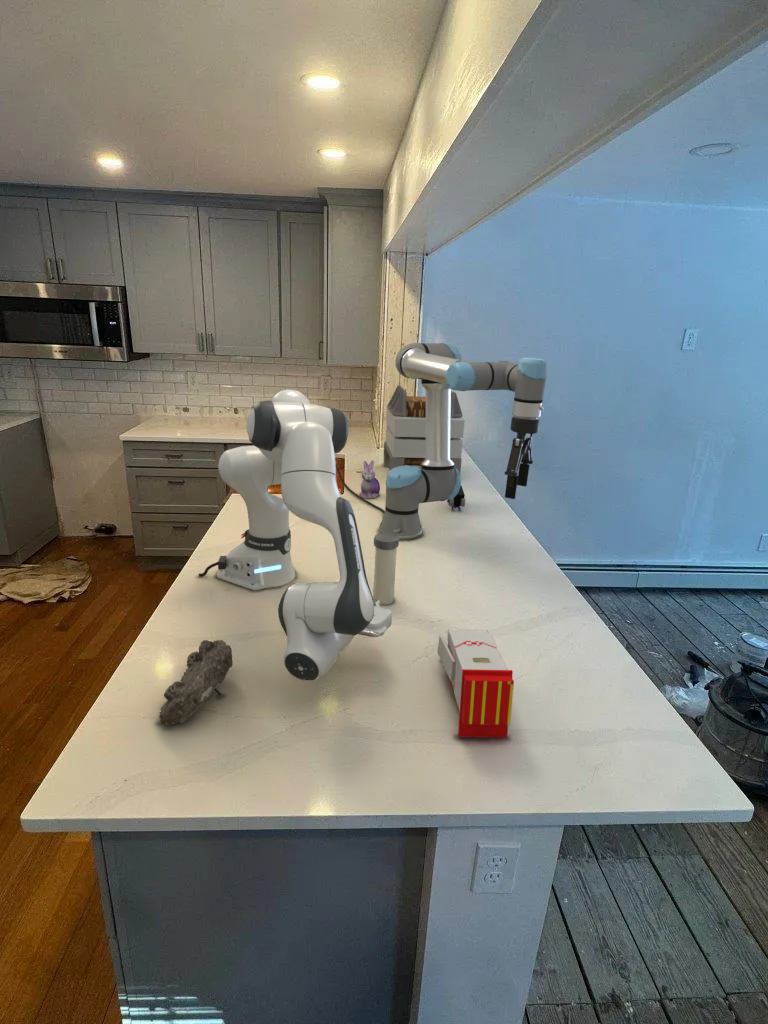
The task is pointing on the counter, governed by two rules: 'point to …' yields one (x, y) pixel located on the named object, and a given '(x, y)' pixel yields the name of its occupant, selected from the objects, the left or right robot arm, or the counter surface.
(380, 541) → the lid
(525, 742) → the counter surface
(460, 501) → the figurine character
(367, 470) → the figurine
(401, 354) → the right robot arm
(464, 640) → the toy
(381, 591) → the jar
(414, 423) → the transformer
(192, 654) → the fossil
